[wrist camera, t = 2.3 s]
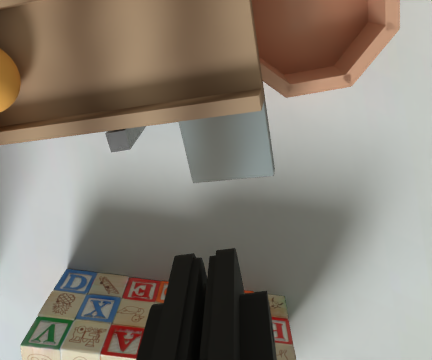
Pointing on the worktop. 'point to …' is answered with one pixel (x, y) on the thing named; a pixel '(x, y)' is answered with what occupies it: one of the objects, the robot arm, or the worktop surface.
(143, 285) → the stack of blocks
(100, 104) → the lever
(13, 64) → the ball
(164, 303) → the robot arm
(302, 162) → the worktop surface
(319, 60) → the bowl
